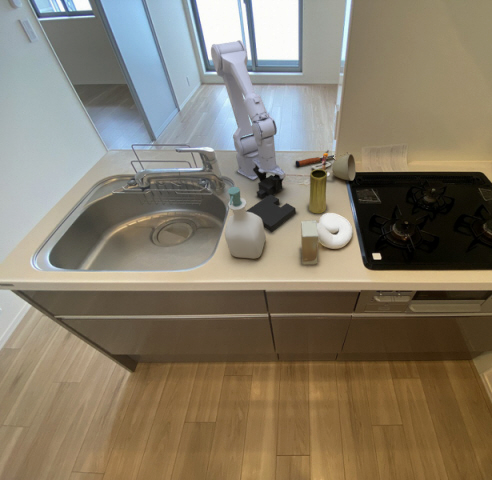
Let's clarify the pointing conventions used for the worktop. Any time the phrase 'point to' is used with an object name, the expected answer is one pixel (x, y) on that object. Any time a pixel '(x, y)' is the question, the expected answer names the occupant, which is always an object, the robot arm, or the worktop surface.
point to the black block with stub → (266, 188)
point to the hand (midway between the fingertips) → (270, 187)
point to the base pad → (272, 212)
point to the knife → (309, 161)
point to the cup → (344, 167)
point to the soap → (319, 166)
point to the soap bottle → (243, 229)
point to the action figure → (325, 162)
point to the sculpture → (334, 230)
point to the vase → (318, 191)
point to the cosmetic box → (309, 241)
